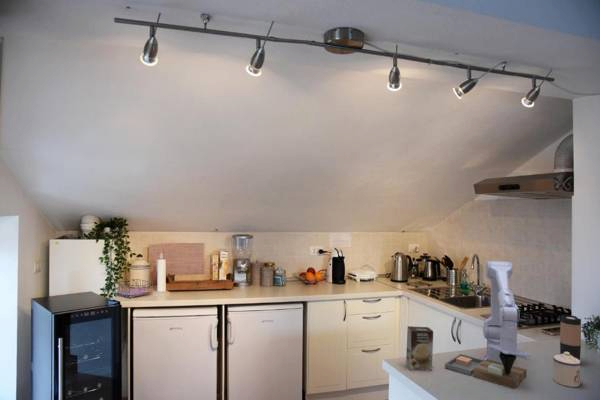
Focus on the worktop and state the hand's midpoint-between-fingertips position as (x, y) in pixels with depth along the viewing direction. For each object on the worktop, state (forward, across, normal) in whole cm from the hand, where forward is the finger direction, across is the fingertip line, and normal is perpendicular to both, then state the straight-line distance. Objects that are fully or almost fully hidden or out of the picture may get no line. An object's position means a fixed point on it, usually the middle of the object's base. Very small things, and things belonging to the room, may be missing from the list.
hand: (507, 373), depth 158 cm
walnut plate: (+4, -4, +4) cm, 7 cm away
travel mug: (+4, +13, +43) cm, 45 cm away
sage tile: (+1, -4, 0) cm, 4 cm away
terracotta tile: (+1, -19, +6) cm, 20 cm away
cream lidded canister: (+4, +16, +19) cm, 25 cm away
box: (+4, -18, +4) cm, 18 cm away
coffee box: (+4, -31, -11) cm, 33 cm away
